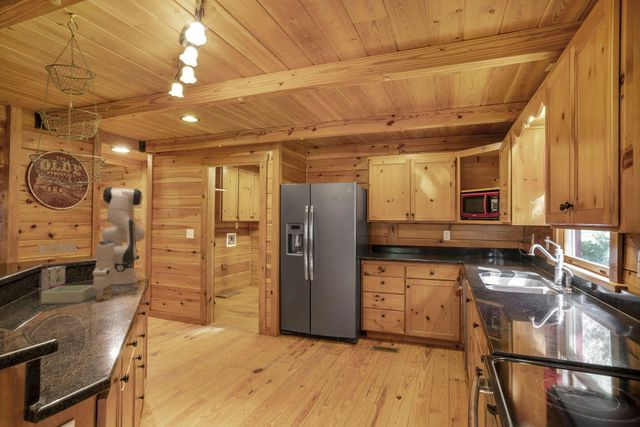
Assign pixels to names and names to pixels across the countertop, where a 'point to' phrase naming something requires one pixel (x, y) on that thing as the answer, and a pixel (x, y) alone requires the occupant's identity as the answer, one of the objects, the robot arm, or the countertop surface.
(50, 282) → the candy bar box
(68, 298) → the box
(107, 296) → the ash block
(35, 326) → the countertop surface
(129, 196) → the robot arm
